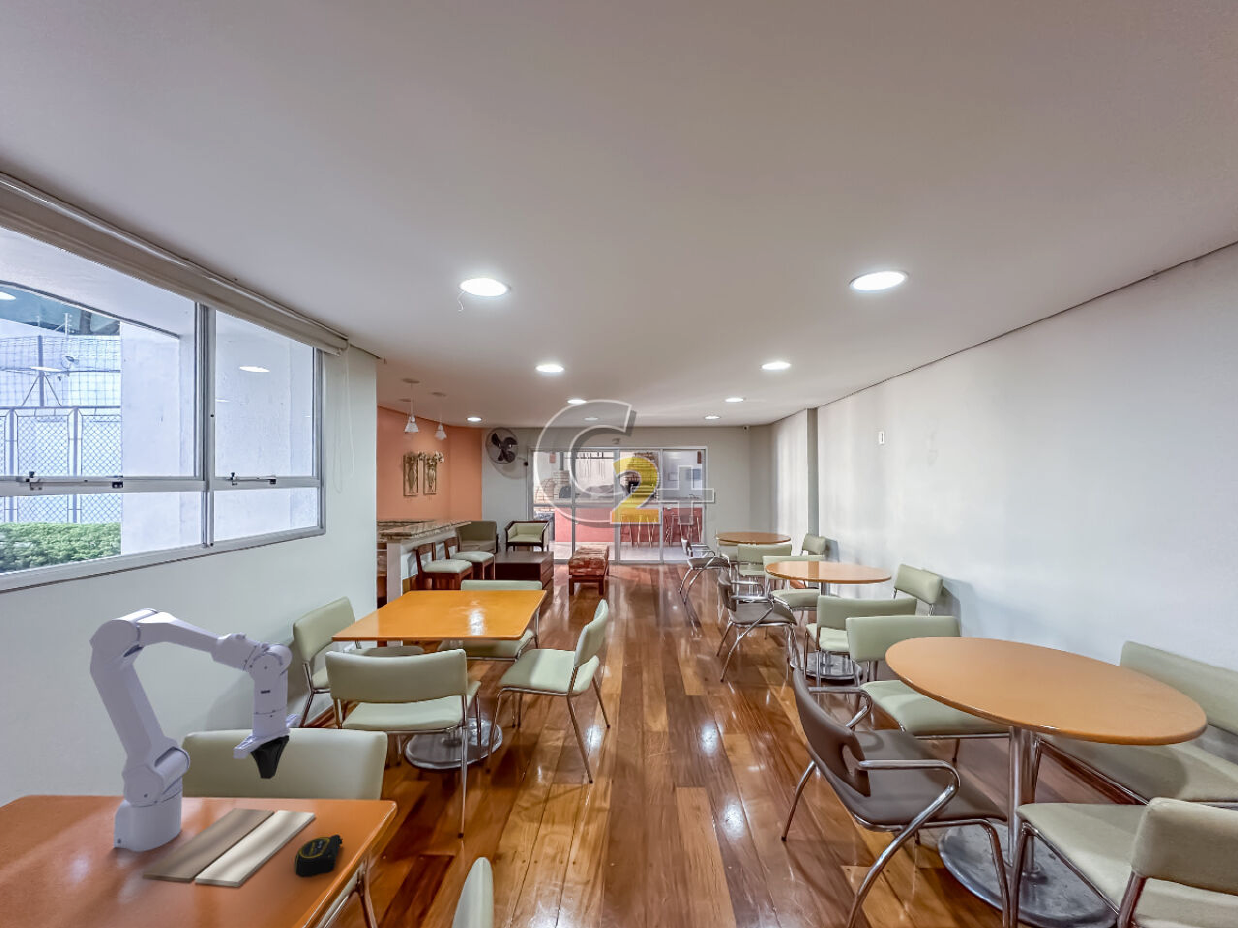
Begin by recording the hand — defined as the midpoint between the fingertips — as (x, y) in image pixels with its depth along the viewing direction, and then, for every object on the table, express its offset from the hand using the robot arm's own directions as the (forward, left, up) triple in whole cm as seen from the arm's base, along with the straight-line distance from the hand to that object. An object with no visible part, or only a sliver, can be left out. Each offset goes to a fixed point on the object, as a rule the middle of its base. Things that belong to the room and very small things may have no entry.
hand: (267, 776), depth 101 cm
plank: (+5, -7, -9) cm, 12 cm away
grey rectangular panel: (-4, -7, -9) cm, 13 cm away
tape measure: (+19, -9, -10) cm, 23 cm away
